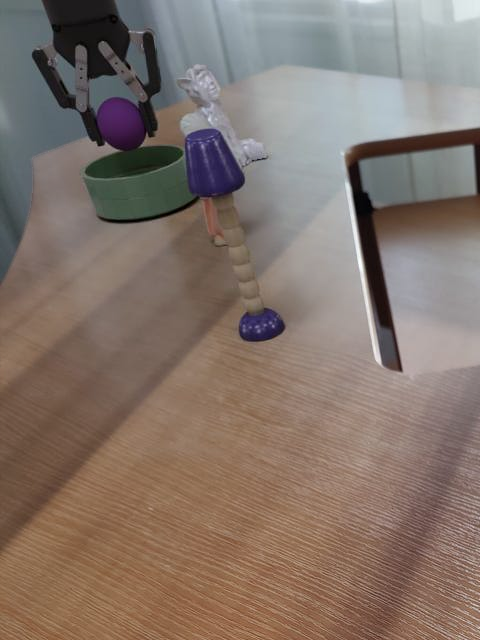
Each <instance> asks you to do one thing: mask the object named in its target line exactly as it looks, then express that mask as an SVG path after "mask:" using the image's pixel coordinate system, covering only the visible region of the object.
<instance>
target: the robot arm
mask: <svg viewBox="0 0 480 640" xmlns="http://www.w3.org/2000/svg"><path fill="white" fill-rule="evenodd" d="M41 2H42V5H43V8H44V11H45V13H46V16H47V19H48V23H49V24H50V27H51V31H52V42H51V43H48V44H46V45H44V46H40V45H38V46H36V47H35V48H34V49H33V50H32V52H31V58H32V61H33V62H34V63H35V65H36V67H37V69H38V70H39V72H40V74H41V76H42V78H43V80H44V81H45V83H46V85H47V86H48V88H49V91H50V92H51V93H52V95H53V98H54V99H55V100H56V102H57V104H58V106H59V107H60V108H62V109H63V110H66V109H70V110H75V111H76V112H78V114H79V115H80V117H81V120H82V123H83V125H84V128H85V130H86V133H87V136H88V138H89V140H90V141H91V142H92V143H94V142H95V143H96V146H97V147H104V146H105V145H106V141H105V140H104V139H103V137H102V136H101V134H100V132H99V130H98V127H97V121H96V118H97V112H96V110H95V107H92V106H91V104H90V87H91V80H95V79H98V78H100V77H102V76H105V77H114V76H119V78H120V79H121V81H122V82H123V83H124V84H125V85H126V86H128V88H129V90H130V91H131V92H132V93H133V96H134V97H136V99H137V100H138V101H137V107H138V108H139V110H140V113H141V116H142V119H143V122H144V125H145V128H146V131H147V133H146V135H147V137H148V139H151V138H155V137H156V132H158V129H159V122H158V119H157V114H156V112H155V108H154V106H153V103H152V97H153V96H155V95H156V94H159V93H160V92H161V90H162V86H163V82H162V76H161V68H160V61H159V53H158V47H157V46H158V45H157V40H156V34H155V31H154V30H152V29H151V28H145V29H144V30H135V29H134V30H132V29H129V27H128V26H127V24H125V22H124V21H123V19H122V17H121V15H120V12H119V9H118V6H117V3H116V0H41ZM131 42H132V43H134V44H135V45H136V48H137V50H138V52H139V53H140V54H143V55H144V57H145V64H146V70H147V76H148V81H147V82H145V83H144V82H143V81H142V79H141V78H140V77H139V75H138V74H137V71H136V70H135V68H134V67H133V66H132V65H131V63H130V62H129V60H128V59H127V55H128V52H129V48H130V44H131ZM57 54H58V55H59V56H60V57H61V58H62V59H64V61H66V62H67V63H68V64H69V65H71V67H72V68H74V69H75V78H74V79H75V81H74V82H75V83H74V84H75V85H74V87H75V94H72V93H70V91H69V89H68V87H67V86H66V84H65V83H64V80H63V79H62V77H61V75H60V73H59V71H58V70H57V68H56V67H57V66H58V59H57Z"/></svg>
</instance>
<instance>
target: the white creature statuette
mask: <svg viewBox="0 0 480 640" xmlns="http://www.w3.org/2000/svg"><path fill="white" fill-rule="evenodd" d="M176 84H177V86H178V87H179V88H180V89H182V90H185V92H186V94H187V96H188V97H189V99H191V101H192V103H194V105H196V108H195V109H194V111H193V113H196V114H199V115H201V116H202V117H204V118H206V119H207V120H208V121H209V123H210V124H211V126H212V127H213V128H214V129H217V130H219V131H220V132H221V133H222V135H223V136H224V138H225V140H226V142H227V144H228V145H229V147H230V149H231V151H232V153H233V155H234V157H235V158H236V160H237V162H238V164H239V166H240V168H241V170H242V171H243V167H246V165H247V166H248V165H249V164H250V163H252V162H253V161H252V160H254V161H258V160H257V159H262V158H266V157H267V158H268V156H267V150H266V149H267V148H266V145H265V143H264V142H263V141H258V140H256V139H254V138H252V137H249V138H243V139H240V140H239V138H237V132H236V131H235V130H234V128H233V127H232V122H231V121H230V118H229V117H228V114H227V111H226V110H225V109H224V108H223V104H222V102H221V91H222V88H221V86H220V85H219V82H218V81H217V79H216V78H215V75H214V73H213V72H212V71H211V70H209V69H208V68H207V65H206V64H199V63H196V64H194V65H193V67H190V68H188V69H187V70H186V71H185V73H184V77H177V79H176ZM262 160H263V159H262Z"/></svg>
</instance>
